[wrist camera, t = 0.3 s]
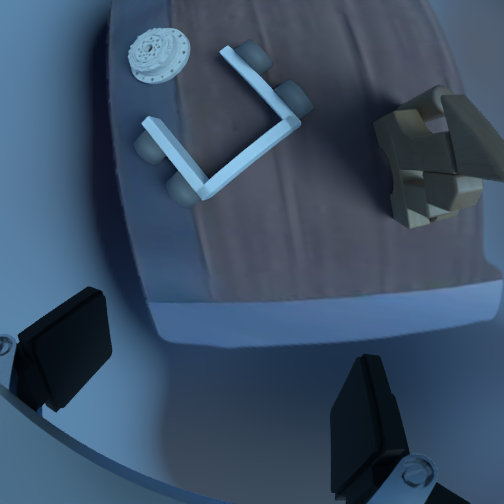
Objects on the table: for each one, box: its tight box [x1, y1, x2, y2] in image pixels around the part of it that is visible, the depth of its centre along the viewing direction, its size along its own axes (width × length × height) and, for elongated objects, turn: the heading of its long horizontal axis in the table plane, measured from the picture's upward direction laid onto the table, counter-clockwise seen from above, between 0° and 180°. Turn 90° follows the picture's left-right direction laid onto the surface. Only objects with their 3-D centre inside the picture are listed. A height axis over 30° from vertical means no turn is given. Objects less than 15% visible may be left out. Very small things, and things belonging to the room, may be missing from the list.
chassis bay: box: [133, 39, 314, 209], centre depth 33 cm, size 21×14×5 cm
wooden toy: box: [373, 85, 504, 229], centre depth 21 cm, size 16×7×25 cm, turn 16°
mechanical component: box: [128, 28, 190, 84], centre depth 32 cm, size 10×4×10 cm
